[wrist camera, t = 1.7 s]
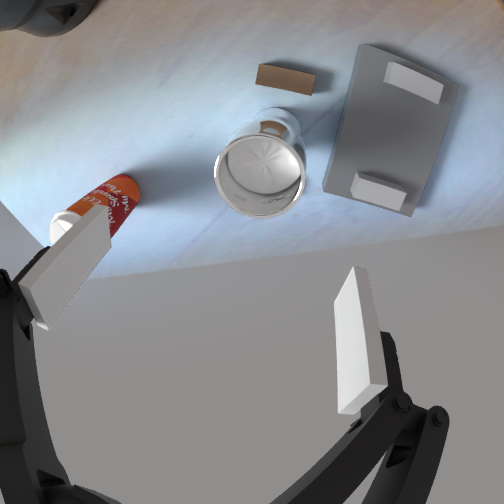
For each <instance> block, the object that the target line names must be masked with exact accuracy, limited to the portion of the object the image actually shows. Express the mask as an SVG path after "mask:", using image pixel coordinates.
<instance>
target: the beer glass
mask: <svg viewBox="0 0 504 504" xmlns="http://www.w3.org/2000/svg"><path fill="white" fill-rule="evenodd" d="M306 173H307V153H306V148H305V144H304V142H303V140H302V138H301V128H300V125H299V122H298V121H297V119H296V118H295V117H294V116H293V115H292V114H291V113H290V112H288V111H286V110H284V109H280V108H268V109H265V110H262V111H260V112H259V113H258V114H256V115H255V117H254V118H253V119H252V120H251V121H249V122H247V123H245V124H243V125H242V126H241V127H240V128H238V129H237V130H236V131H235V132H234V133H233V134H232V135H231V137H230V138H229V139H228V141H227V142H226V144H225V146H224V148H223V149H222V151H221V152H220V154H219V156H218V158H217V160H216V163H215V168H214V180H215V184H216V188H217V190H218V192H219V194H220V196H221V197H222V199H223V200H224V201H225V202H226V203H227V204H228V205H229V206H230V207H231V208H232V209H234V210H235V211H237V212H239V213H241V214H243V215H246V216H249V217H254V218H271V217H275V216H278V215H281V214H283V213H285V212H287V211H288V210H290V209H291V208H292V207H293V206H294V205H295V204H296V203H297V202H298V200H299V199H300V197H301V196H302V193H303V191H304V188H305V182H306Z"/></svg>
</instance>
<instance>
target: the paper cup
mask: <svg viewBox="0 0 504 504" xmlns="http://www.w3.org/2000/svg"><path fill="white" fill-rule="evenodd" d="M139 200H140V189H139V187H138V185H137V183H136V182H135V181H134V180H133V179H132V178H131V177H129V176H127V175H117V176H115V177H113V178H111V179H110V180H108V181H106V182H105V183H103V184H102V185H100V186H99V187H97V188H96V189H94V190H93V191H91V192H90V193H88V194H87V195H85V196H84V197H83V198H81V199H80V200H78V201H77V202H76V203H74V204H73V205H72V206H70V207H69V208H68V209H66V210H64V211H60V212H58V213H57V214H56V215H55V216H54V218H53V220H52V221H51V224H50V228H49V237H50V241H51V244H52V246H53V245H54V244H55V243H56V242H57V240H58V239H59V238H60V237H61V236H62V235H63V234H65V233H66V232H67V231H68V230H69V229H70V228H71V227H72V226H73V225H74V224H75V223H76V222H77V221H78V220H79V219H80V218H81V217H82V216H83V215H84V214H86V213H87V212H88V211H89V210H90V209H91V208H92V207H93V206H94V205H95V204H100V205H104V206H107V208H108V219H109V229H110V238H112V237H113V235H114V234H115V233H116V232H117V230H118V229H119V228H120V226H121V225H122V224H123V222H124V221H125V220H126V218H127V217H128V216H129V214H130V213H131V212H132V210H133V209H134V208H135V206H136V205H137V204H138V202H139Z"/></svg>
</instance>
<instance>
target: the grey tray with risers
mask: <svg viewBox="0 0 504 504" xmlns="http://www.w3.org/2000/svg"><path fill="white" fill-rule="evenodd" d="M458 88H459V86H458V85H456V84H454V83H453V82H451V81H449V80H447V79H445V78H443V77H441V76H439V75H437V74H436V73H434V72H431V71H429V70H427V69H425V68H423V67H421V66H419V65H417V64H415V63H412V62H410V61H408V60H405V59H403V58H401V57H398V56H396V55H393V54H391V53H388V52H386V51H383V50H380V49H378V48H375V47H372V46H369V45H366V44H361V45H359V47H358V51H357V56H356V60H355V64H354V68H353V72H352V76H351V80H350V84H349V88H348V92H347V96H346V100H345V104H344V108H343V112H342V115H341V119H340V123H339V126H338V130H337V134H336V137H335V141H334V144H333V148H332V152H331V155H330V159H329V162H328V165H327V169H326V172H325V176H324V179H323V182H322V186H323V192H327V193H331V194H334V195H338V196H342V197H345V198H349V199H353V200H356V201H360V202H363V203H367V204H370V205H373V206H377V207H380V208H383V209H387V210H390V211H393V212H396V213H400V214H403V215H406V216H409V217H411V216H412V214H413V212H414V210H415V208H416V205H417V203H418V201H419V199H420V196H421V194H422V192H423V189H424V187H425V184H426V182H427V180H428V177H429V175H430V172H431V170H432V167H433V164H434V162H435V159H436V157H437V154H438V151H439V148H440V146H441V143H442V140H443V137H444V134H445V131H446V128H447V125H448V122H449V119H450V116H451V112H452V109H453V106H454V102H455V99H456V95H457V91H458Z"/></svg>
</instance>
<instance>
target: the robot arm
mask: <svg viewBox="0 0 504 504" xmlns="http://www.w3.org/2000/svg"><path fill="white" fill-rule="evenodd" d="M96 2H97V0H0V31H6V30H12V29H18V30H21V31H24V32H27V33H30V34H32V35H35V36H39V37H51V36H59V35H62V34H64V33H66V32H68V31H70V30H72V29H73V28H74V27H76V26H77V25H78V24H79V23H80V22H81V21H82V20H83V19H84V18H85V17H86V16H87V15H88V14H89V12H90V11H91V10H92V8H93V7H94V5H95V4H96ZM111 247H112V246H111V238H110V229H109V219H108V208H107V206H104V205H100V204H95V205H94V206H93V207H92V208H91V209H90V210H89V211H88V212H87V213H86V214H84V215H83V216H82V217H81V218H80V219H79V220H78V221H77V222H76V223H75V224H74V225H73V226H72V227H71V228H70V229H69V230H68V231H67V232H66V233H65V234H63V235H62V236H61V237H60V238H59V239H58V240H57V242H56V243H55V244H54V245H53V246H52V247H50V246H47V247H45V248H44V249H42V250H40V251H39V252H38V253H37V254H36V255H35V256H34V257H33V259H32V260H31V261H30V262H29V263H28V264H27V265H26V266H25V267H24V268H23V269H22V270H21V272H20V273H19V274H18V275H17V276H16V277H15V278H14V280H13V281H12V282H11V280H10V277H9V275H8V273H7V271H6V270H4V269H0V489H1V492H2V495H3V498H4V501H5V504H121V503H120V502H118V501H117V500H114V499H112V498H110V497H107V496H105V495H103V494H101V493H98V492H96V491H94V490H90V489H87V488H84V487H81V486H78V485H74V486H72V485H71V484H70V481H69V479H68V476H67V474H66V471H65V469H64V467H63V466H62V464H61V463H60V462H59V460H58V458H57V456H56V453H55V450H54V447H53V443H52V440H51V436H50V432H49V428H48V425H47V420H46V416H45V412H44V407H43V402H42V397H41V392H40V386H39V381H38V374H37V367H36V359H35V350H34V342H33V341H34V340H33V327H32V324H31V321H32V319H33V318H35V320H36V322H37V324H38V326H40V327H42V328H44V329H46V330H48V331H50V329H51V328H52V326H53V325H54V323H55V322H56V320H57V319H58V317H59V316H60V314H61V313H62V312H63V310H64V309H65V307H66V306H67V304H68V303H69V302H70V300H71V299H72V298H73V296H74V295H75V293H76V292H77V291H78V289H79V288H80V287H81V285H82V284H83V283H84V281H85V280H86V279H87V277H88V276H89V275H90V273H91V272H92V271H93V270H94V268H95V267H96V266H97V265H98V263H99V262H100V261H101V259H102V258H103V257H104V256H105V255H106V253H107V252H108V251H109V250H110V248H111ZM334 310H335V326H336V344H337V368H338V369H337V372H338V413H341V414H353V415H354V414H355V413H356V412H358V411H359V410H360V409H361V418H359V419H358V420H356V421H355V422H354V423H352V424H351V425H350V426H351V428H350V429H349V430H348V431H347V432H346V433H345V435H344V436H343V437H342V438H341V439H340V440H339V441H338V442H337V443H336V444H335V445H334V446H333V447H332V448H331V449H330V450H329V451H328V452H327V453H326V454H325V455H324V456H323V457H322V458H321V459H320V460H319V461H318V462H317V463H316V464H315V465H314V466H313V467H312V468H311V469H310V470H309V471H308V472H306V473H305V474H304V475H303V476H302V477H301V478H300V479H299V480H298V481H296V482H295V483H294V484H293V485H292V486H291V487H289V488H288V489H287V490H286V491H285V492H283V493H282V494H281V495H280V496H279V497H277V498H276V499H275V500H274V501H272V502H271V503H270V504H343V502H345V500H346V499H347V498H348V497H349V496H350V495H351V494H352V493H353V492H354V490H355V489H356V488H357V487H358V486H359V485H360V484H361V482H362V481H363V480H364V479H365V478H366V477H367V475H368V474H369V473H370V472H371V470H372V469H373V468H374V467H375V465H376V464H377V463H378V461H379V460H380V459H381V457H382V456H383V455H384V453H385V452H386V451H387V452H386V454H385V456H384V459H383V461H382V464H381V466H380V468H379V470H378V472H377V474H376V477H375V478H374V480H373V482H372V485H371V486H370V488H369V490H368V492H367V494H366V496H365V498H364V500H363V502H362V504H425V503H426V501H427V498H428V496H429V493H430V490H431V487H432V484H433V481H434V479H435V476H436V473H437V469H438V466H439V463H440V459H441V456H442V452H443V448H444V445H445V441H446V436H447V432H448V428H449V416H448V413H447V412H446V410H445V409H444V408H442V407H441V406H433V407H432V408H430V409H429V410H427V409H424V408H422V407H419V406H417V405H414V404H413V402H412V400H411V398H410V396H409V395H408V394H407V393H405V392H404V391H403V386H402V380H401V374H400V368H399V362H398V357H397V354H396V352H397V351H396V346H395V342H394V340H393V338H392V337H391V335H390V333H387V332H382V331H380V330H379V324H378V319H377V314H376V309H375V304H374V299H373V295H372V290H371V285H370V281H369V277H368V273H367V269H365V268H360V267H356V266H353V267H352V270H351V271H350V274H349V275H348V277H347V279H346V281H345V283H344V285H343V287H342V289H341V291H340V292H339V295H338V296H337V298H336V300H335V302H334Z"/></svg>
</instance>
